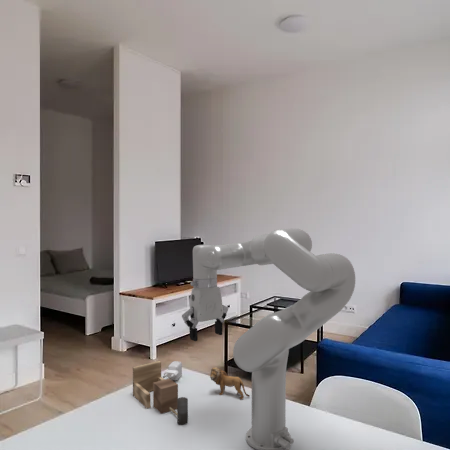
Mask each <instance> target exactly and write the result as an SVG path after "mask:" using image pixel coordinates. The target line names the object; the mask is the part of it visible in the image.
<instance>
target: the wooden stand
mask: <svg viewBox="0 0 450 450" xmlns="http://www.w3.org/2000/svg"><path fill="white" fill-rule="evenodd" d="M165 379H166V378H163V376H162V361H160V360H158V361H157V360H156V361H153V362H152V361H151V362H149V363H145V364H140V365H136V366H132V396H133V397H134V398H135V399H137V400H138V401H139V402H140V404H142V405H143V406H144V407H145V408H146V409H150V408H151V405H152V404H151V392H152V393H153V383H154V382H158V381H161V380H165Z"/></svg>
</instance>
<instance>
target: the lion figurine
mask: <svg viewBox="0 0 450 450" xmlns="http://www.w3.org/2000/svg"><path fill="white" fill-rule="evenodd" d="M209 378H210V380H211V381H213V382H214V383H215V384H216V385H217V386H219V390H220V392H219V393H218V394H219V396H222V395H224V393H225V391H226V387H228V388H232V387H234V388H235V390H236V395H238V396H239V395H240V396H239V400H244V395H245V396H246V397H250V396H251V395H250V394H248V393H247V392H246V389H245V386H244V385H245V384H244V382H243V381H242V379H241V377H239V376H231V375H228V374H227V372H226V371H225V370H222V369H221V368H219V367H212V368H210V375H209ZM242 390H243V391H242Z"/></svg>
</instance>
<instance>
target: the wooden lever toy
mask: <svg viewBox="0 0 450 450" xmlns="http://www.w3.org/2000/svg"><path fill="white" fill-rule="evenodd" d="M164 379H165V380H161V381H158V382H154V383H153V391H152V397H153V398H152V399H153V401H152V402H153V403H152V404H153V405H152V407H153V408H154V409H155V410H156V411H158V412H159V414H165V413H168V412H172V413H173V414H174V415H175V416H176V419H177V422H176V423H177V424H178V426H179V425H180V426H184V425H187V424H188V422H189V418H188V417H189V399H188V397H183V396H182V397H179V384H178V383H176V382H175V381H174V380H171V379H170V378H169V379H168V378H167V379H166V378H164Z"/></svg>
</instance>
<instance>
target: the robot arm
mask: <svg viewBox="0 0 450 450" xmlns="http://www.w3.org/2000/svg"><path fill="white" fill-rule="evenodd" d="M312 249H313V241H312V238H311V236H310V235H309V233H307V231H305V230H303V229H299V228H283V229H282V228H281V229H276V230H275V229H274V230H273V231H271V232H269V233H265V234H259V235H256V236H253V238H252V239H251V240H247V241H243V242H236V243H225V244H224V243H223V244H216V245H215V244H214V245H213V244H198V245H195V246H193V248H192V272H193V273H192V275H193V276H192V277H193V279H192V281H190V286H191V287H193V288H192V289H191V292H190V300H189V309H188V310H186V311H185V312H184V313H182V314H181V318H182V320H183V321H184V323H185V325H186V326H187V327H188V328H189V339H190V341H191V340H192V341H194V342H197V341H198V340H199V339H198V328H197V326H198V324H199V323H202V322H207V321H213V320H215V321H214V333H215V334H216V335H218V336H223V323H224V322H225V318H226V317H227V314H228V311H229V307H228V306H227V305H224V304H223V298H222V292H221V289H220V286H218V272H217V271H221V270H226V269H233V268H239V267H244V266H245V267H246V266H252V265H259V266H268V265H274V266H276V268H277V269H279V270H280V271H281V272H282V273H283V274H284V275H286V276H287V277H288V278H290V280H292V281H293V282H294V283H295V284H297V285H298V286H299V287H301V288H302V289H304V290H306V291H308V292H307V293H306V294H304V295H303V296H302V297H301V298H300V299H299V300H297V302H295V303H293V304H292V305H291V306H289V307H287V308H284V309H281V310H278V311H274V312H272V313H270V314H267V315H265V316H264V317H263V318H261V319H260V320H258V321H257V322H256V323H254V325H252V326H251V327H250V328H249V329H248V330H247V331H245V332H244V333H243V334H241V335H240V337H239V338H238V339H237V340H236V341H235V344H234V345H233V350H232V351H233V352H232V357H233V359H234V362H235V364H236V366H237V367H238V368H239V369H241V370H242V371H245V372H249V373H251V427H250V428H249V429H248V430H247V431H246V434H245V440H246V443H247V444H248V445H249V446H250V447H252V448H253V449H255V450H290V449H291V447H292V444H294V442H295V439H294V438H292V436H291V433H290V432H289V428H288V427H287V426H286V425H287V424H286V421H287V420H286V411H287V410H286V405H287V404H286V403H287V402H286V398H287V397H286V392H287V391H286V387H287V383H286V382H287V379H286V378H287V365H288V359H289V358H288V357H289V352H290V349H292V348H293V347H296V346H297V345H300V344H301V343H302V342H304V341H305V340H306V339H307V338H308V337H310V336H311V335H312V334H313V333H314V332H316V331H318V330H319V329H320V328H321V327H323V326H324V325H325V324H326V323H327V322H328V321H331V319H332V318H334V317H335V316H336V315H338V314H339V313H340V312H341V311H342V310H343V309H344V308H345V306H346V305H347V304H348V303H349V302H350V300H351V298H352V296H353V293H354V292H355V291H354V290H355V287H356V272H355V268H354V266H353V264H352V262H351V261H350V260H349V259H348V258H347V257H346V256H344V255H343V254H341V253H340V254H339V253H334V252H333V253H324V254H317V255H315V254H314V253H312V252H311V251H312ZM189 317H190V318H189Z"/></svg>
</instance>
